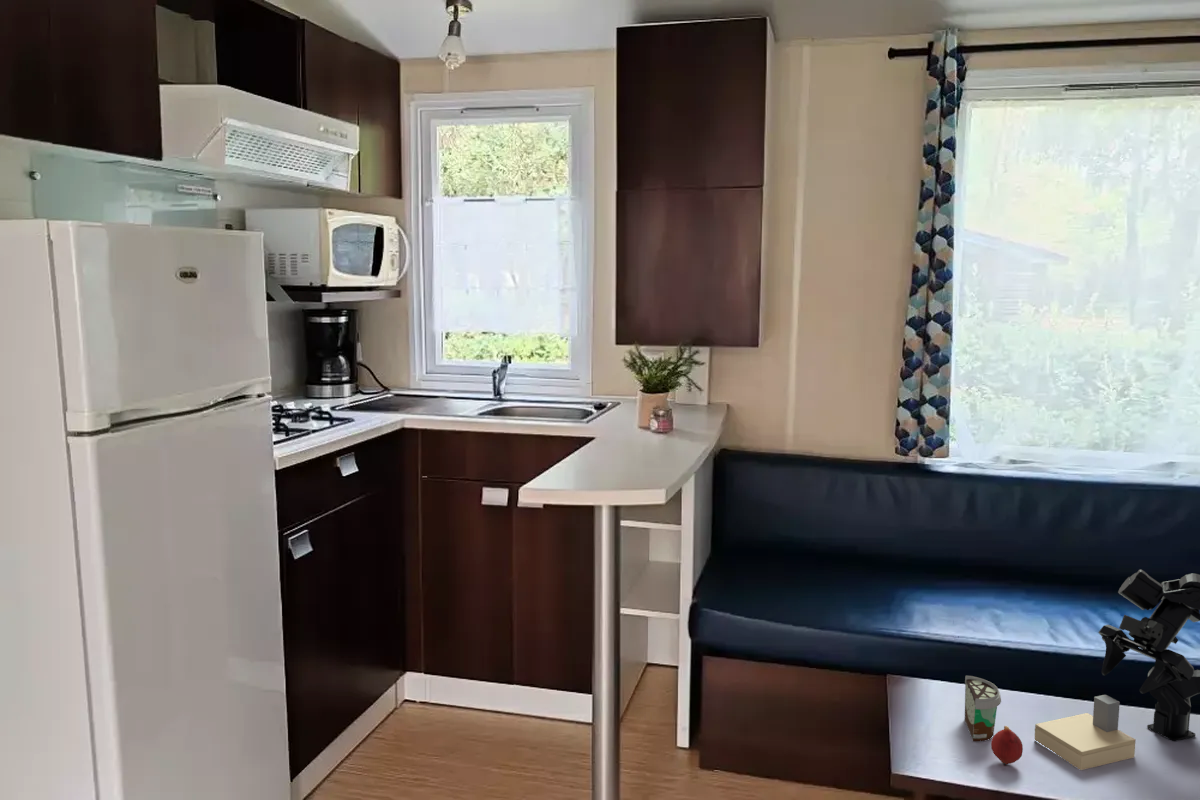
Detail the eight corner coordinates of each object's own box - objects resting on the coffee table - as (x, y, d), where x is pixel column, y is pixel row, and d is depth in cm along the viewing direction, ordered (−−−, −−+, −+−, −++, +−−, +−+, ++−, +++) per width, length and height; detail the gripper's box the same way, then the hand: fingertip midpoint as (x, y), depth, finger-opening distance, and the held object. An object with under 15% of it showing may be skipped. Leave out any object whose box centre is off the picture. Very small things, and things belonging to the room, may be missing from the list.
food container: (1005, 747, 192) (1007, 702, 190) (974, 745, 193) (976, 699, 191) (992, 719, 204) (994, 676, 202) (963, 717, 205) (965, 674, 203)
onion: (1021, 760, 187) (1024, 722, 186) (1021, 774, 182) (1023, 736, 180) (990, 754, 189) (992, 717, 188) (989, 767, 184) (991, 730, 183)
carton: (1086, 730, 198) (1086, 716, 198) (1134, 757, 187) (1135, 743, 187) (1034, 741, 194) (1035, 728, 193) (1080, 770, 183) (1081, 756, 182)
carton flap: (1086, 716, 198) (1088, 686, 197) (1135, 743, 187) (1137, 711, 186) (1035, 727, 193) (1036, 696, 192) (1081, 755, 182) (1083, 722, 181)
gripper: (1107, 588, 200) (1065, 644, 197) (1187, 617, 182) (1142, 679, 180) (1132, 617, 203) (1091, 673, 201) (1213, 649, 186) (1169, 710, 184)
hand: (1121, 683), depth 191 cm, fingers open, 9 cm apart
